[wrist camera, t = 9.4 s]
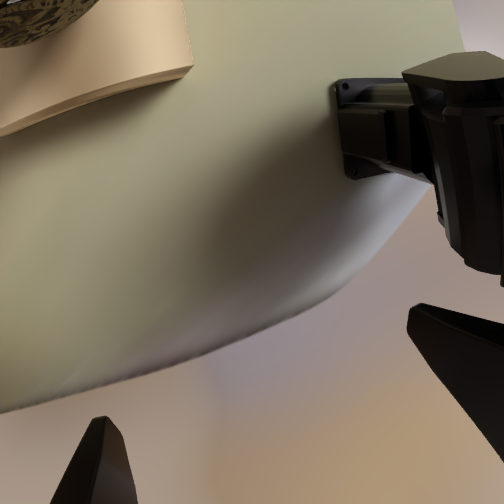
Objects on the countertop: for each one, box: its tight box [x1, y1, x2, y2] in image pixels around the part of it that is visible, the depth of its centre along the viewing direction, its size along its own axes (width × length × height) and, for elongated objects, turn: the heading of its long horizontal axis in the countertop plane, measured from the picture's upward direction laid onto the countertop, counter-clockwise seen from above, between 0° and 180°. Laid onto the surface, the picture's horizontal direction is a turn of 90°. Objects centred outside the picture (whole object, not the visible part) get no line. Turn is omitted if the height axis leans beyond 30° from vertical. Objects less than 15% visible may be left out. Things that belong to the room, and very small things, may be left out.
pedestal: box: [0, 0, 194, 136], centre depth 10 cm, size 10×10×4 cm
